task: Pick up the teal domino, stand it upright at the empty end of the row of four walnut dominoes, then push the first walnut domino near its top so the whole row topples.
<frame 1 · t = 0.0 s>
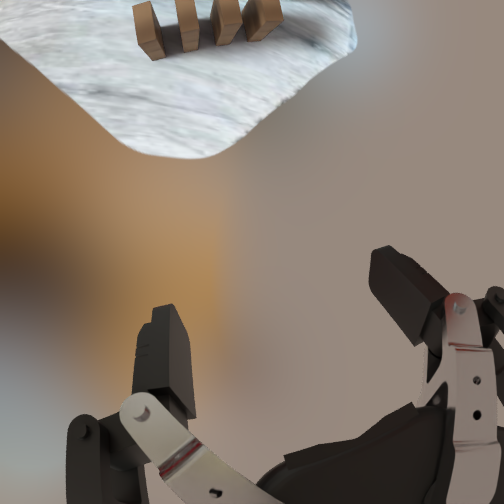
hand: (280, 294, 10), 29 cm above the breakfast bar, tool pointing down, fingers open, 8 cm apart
domino 4: (251, 26, 26), on the breakfast bar
domino 1: (156, 43, 25), on the breakfast bar
domino 2: (187, 35, 25), on the breakfast bar
domino 3: (219, 29, 26), on the breakfast bar
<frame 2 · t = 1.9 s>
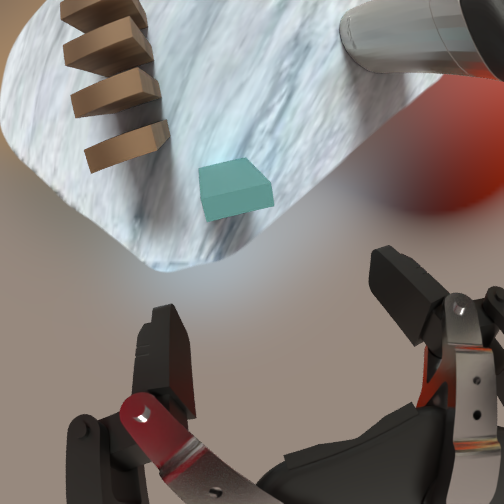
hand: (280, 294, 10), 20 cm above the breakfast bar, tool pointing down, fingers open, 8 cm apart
teal domino: (223, 170, 27), on the breakfast bar
domino 4: (144, 134, 24), on the breakfast bar
domino 1: (123, 28, 17), on the breakfast bar
domino 2: (128, 61, 19), on the breakfast bar
domino 3: (135, 97, 21), on the breakfast bar
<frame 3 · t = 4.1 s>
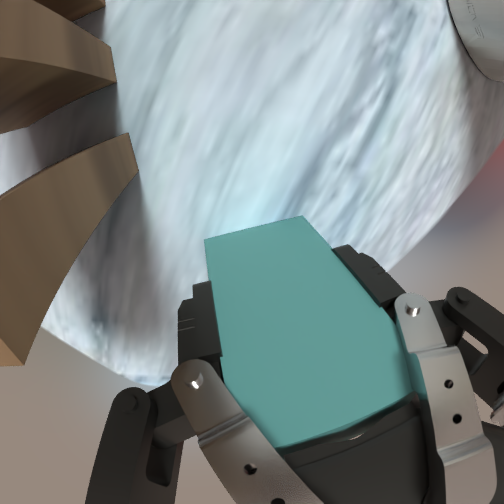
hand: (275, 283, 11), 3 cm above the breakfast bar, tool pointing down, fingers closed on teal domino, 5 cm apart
teal domino: (257, 242, 14), on the breakfast bar, touching gripper
domino 4: (84, 169, 10), on the breakfast bar
domino 2: (56, 15, 6), on the breakfast bar
domino 3: (64, 86, 8), on the breakfast bar
when the fingers open (4 cm above the breakfast bar, at t = 9.5 s): teal domino stays where it is, on the breakfast bar.
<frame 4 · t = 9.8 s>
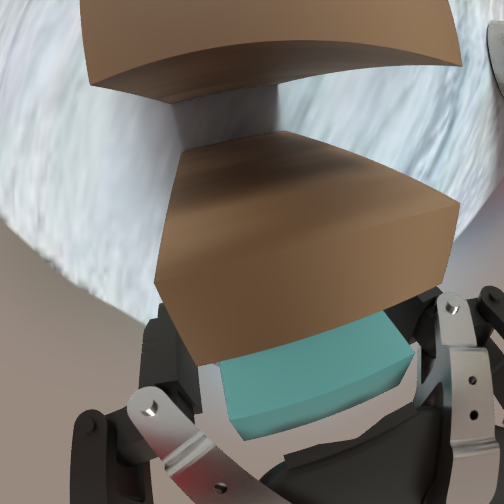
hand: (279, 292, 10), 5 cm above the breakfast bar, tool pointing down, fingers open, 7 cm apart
teal domino: (251, 234, 14), on the breakfast bar
domino 4: (237, 157, 12), on the breakfast bar
domino 3: (221, 73, 10), on the breakfast bar
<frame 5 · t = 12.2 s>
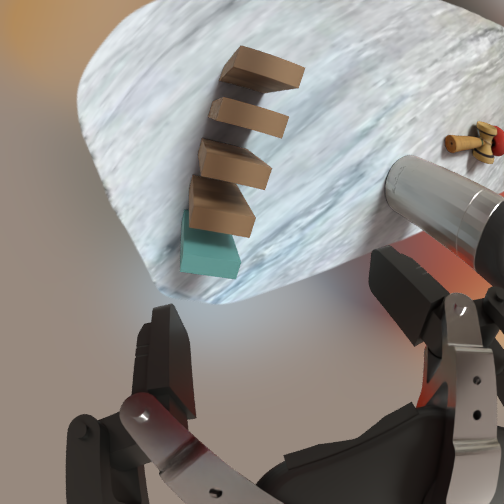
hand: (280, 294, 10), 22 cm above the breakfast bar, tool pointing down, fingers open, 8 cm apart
teal domino: (203, 220, 31), on the breakfast bar
domino 4: (212, 186, 30), on the breakfast bar
kendama: (469, 138, 33), on the breakfast bar
domino 1: (244, 79, 24), on the breakfast bar
domino 2: (233, 114, 26), on the breakfast bar
domino 3: (222, 151, 28), on the breakfast bar
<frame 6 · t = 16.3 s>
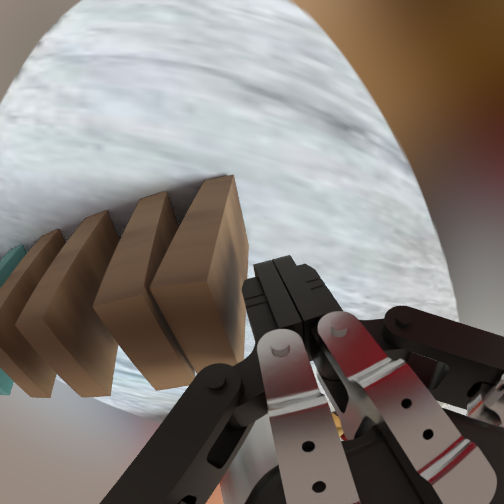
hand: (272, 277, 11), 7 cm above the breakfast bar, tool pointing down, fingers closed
teal domino: (29, 273, 16), on the breakfast bar
domino 4: (64, 261, 16), on the breakfast bar
kendama: (334, 411, 39), on the breakfast bar
domino 1: (227, 214, 17), on the breakfast bar, tilted 13°
domino 2: (165, 229, 17), on the breakfast bar
domino 3: (109, 246, 17), on the breakfast bar
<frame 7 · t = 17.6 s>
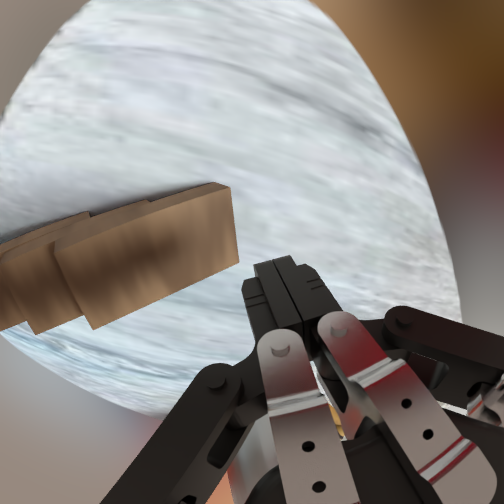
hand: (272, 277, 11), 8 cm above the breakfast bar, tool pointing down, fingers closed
kendama: (338, 409, 39), on the breakfast bar
domino 1: (226, 222, 17), point 1 cm above the breakfast bar, tilted 65°
domino 2: (157, 239, 16), point 1 cm above the breakfast bar, tilted 64°
domino 3: (98, 249, 16), point 1 cm above the breakfast bar, tilted 64°
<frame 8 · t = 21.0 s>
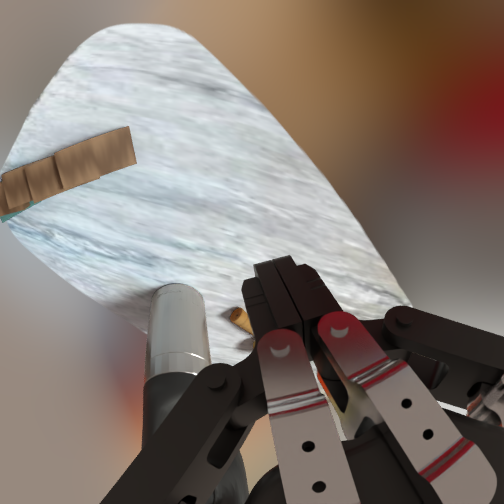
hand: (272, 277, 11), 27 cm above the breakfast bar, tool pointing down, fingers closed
teal domino: (37, 184, 29), on the breakfast bar, tilted 90°, touching domino 4
domino 4: (23, 191, 27), point 2 cm above the breakfast bar, tilted 90°, touching domino 3, teal domino
kendama: (264, 329, 52), on the breakfast bar
domino 1: (131, 144, 30), point 1 cm above the breakfast bar, tilted 69°, touching domino 2
domino 2: (95, 159, 29), point 1 cm above the breakfast bar, tilted 69°, touching domino 1, domino 3
domino 3: (65, 170, 29), point 1 cm above the breakfast bar, tilted 69°, touching domino 2, domino 4
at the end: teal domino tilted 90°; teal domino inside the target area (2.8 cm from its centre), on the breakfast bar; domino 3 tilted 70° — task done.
